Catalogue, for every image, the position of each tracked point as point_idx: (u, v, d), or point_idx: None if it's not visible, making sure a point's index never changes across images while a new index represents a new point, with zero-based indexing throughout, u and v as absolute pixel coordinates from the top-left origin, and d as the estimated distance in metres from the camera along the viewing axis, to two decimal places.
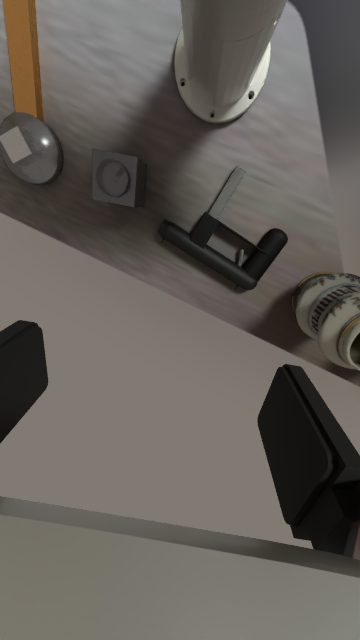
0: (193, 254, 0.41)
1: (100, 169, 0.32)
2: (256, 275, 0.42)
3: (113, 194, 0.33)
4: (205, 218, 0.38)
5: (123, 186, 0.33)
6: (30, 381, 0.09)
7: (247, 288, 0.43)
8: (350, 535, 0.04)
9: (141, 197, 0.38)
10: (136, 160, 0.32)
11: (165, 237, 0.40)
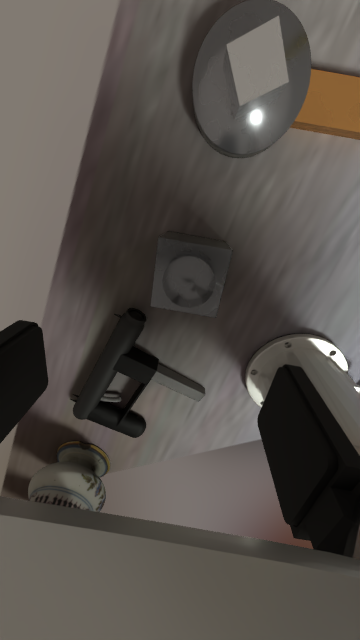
0: (103, 357, 0.30)
1: (201, 266, 0.19)
2: (92, 419, 0.35)
3: (165, 283, 0.20)
4: (149, 370, 0.30)
5: (176, 300, 0.20)
6: (30, 381, 0.09)
7: (74, 412, 0.34)
8: (350, 535, 0.04)
9: None
10: (211, 315, 0.22)
11: (121, 323, 0.28)
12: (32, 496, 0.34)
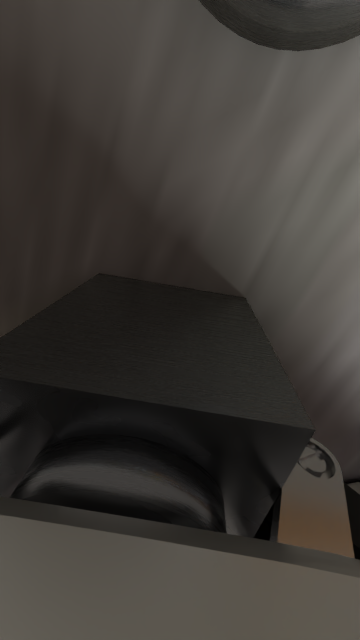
0: None
1: None
2: None
3: None
4: None
5: None
6: None
7: None
8: None
9: None
10: None
11: None
12: None
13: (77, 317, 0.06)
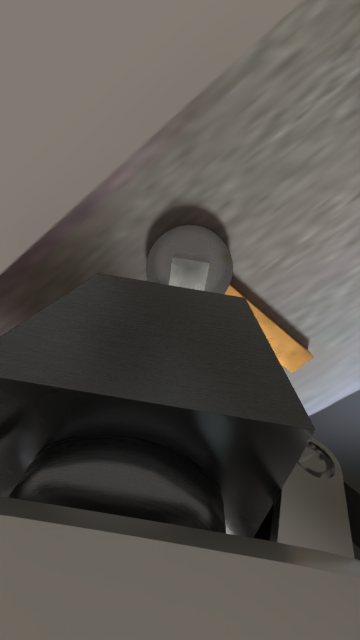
0: None
1: None
2: None
3: None
4: None
5: None
6: None
7: None
8: None
9: None
10: None
11: None
12: None
13: (76, 317, 0.06)
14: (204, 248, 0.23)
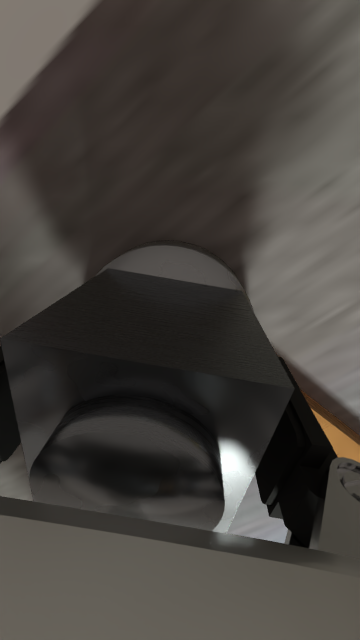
0: None
1: (169, 463, 0.05)
2: None
3: (42, 496, 0.05)
4: None
5: None
6: None
7: None
8: (317, 513, 0.05)
9: None
10: (212, 530, 0.08)
11: None
12: None
13: (94, 303, 0.07)
14: None
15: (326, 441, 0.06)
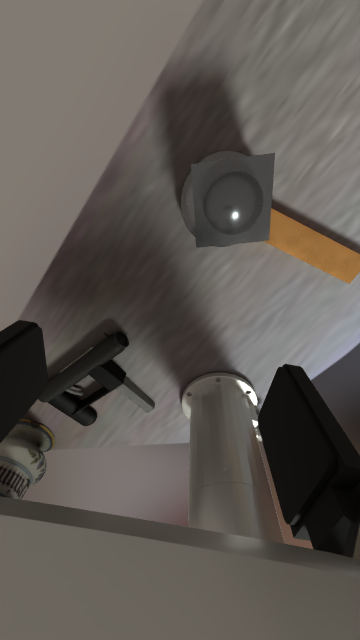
0: (82, 362, 0.35)
1: (244, 180, 0.17)
2: (52, 404, 0.40)
3: (208, 212, 0.18)
4: (116, 382, 0.37)
5: (224, 228, 0.19)
6: (30, 381, 0.09)
7: None
8: (350, 535, 0.04)
9: None
10: (264, 239, 0.20)
11: (107, 343, 0.33)
12: None
13: None
14: None
15: None
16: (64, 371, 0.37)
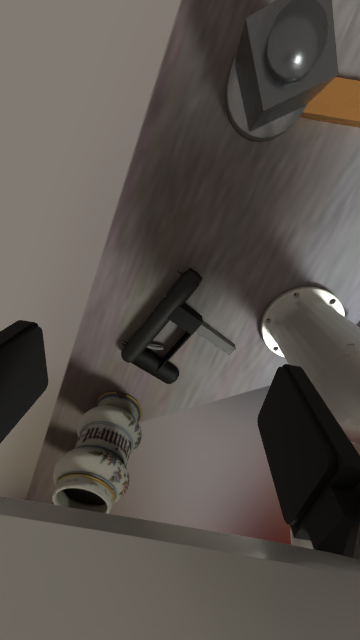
0: (161, 307, 0.36)
1: (305, 5, 0.17)
2: (137, 363, 0.41)
3: (273, 57, 0.19)
4: (196, 322, 0.37)
5: (292, 71, 0.19)
6: (30, 381, 0.09)
7: (123, 355, 0.41)
8: (350, 535, 0.04)
9: (266, 120, 0.25)
10: (332, 75, 0.20)
11: (183, 279, 0.34)
12: (83, 430, 0.41)
13: None
14: None
15: None
16: (144, 323, 0.38)
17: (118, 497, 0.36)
